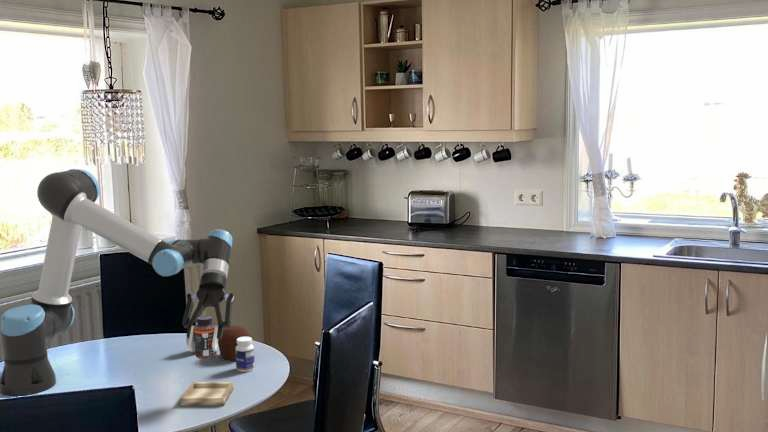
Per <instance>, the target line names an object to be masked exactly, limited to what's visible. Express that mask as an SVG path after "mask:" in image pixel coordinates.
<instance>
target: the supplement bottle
mask: <svg viewBox="0 0 768 432" xmlns="http://www.w3.org/2000/svg"><path fill="white" fill-rule="evenodd" d="M215 326H216V325H215V323H213V317H212V316H210V315H201V316H200V317H198V318H197V325H196V326H195V327H194V337H195V352H194V353H195V354H194V355H195V358H196V359H199V360H200V359H201V360H208V359H213V358H215V357H216V356H217V352H218V351H213V348H212V342H213V336H214V330H215Z"/></svg>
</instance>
